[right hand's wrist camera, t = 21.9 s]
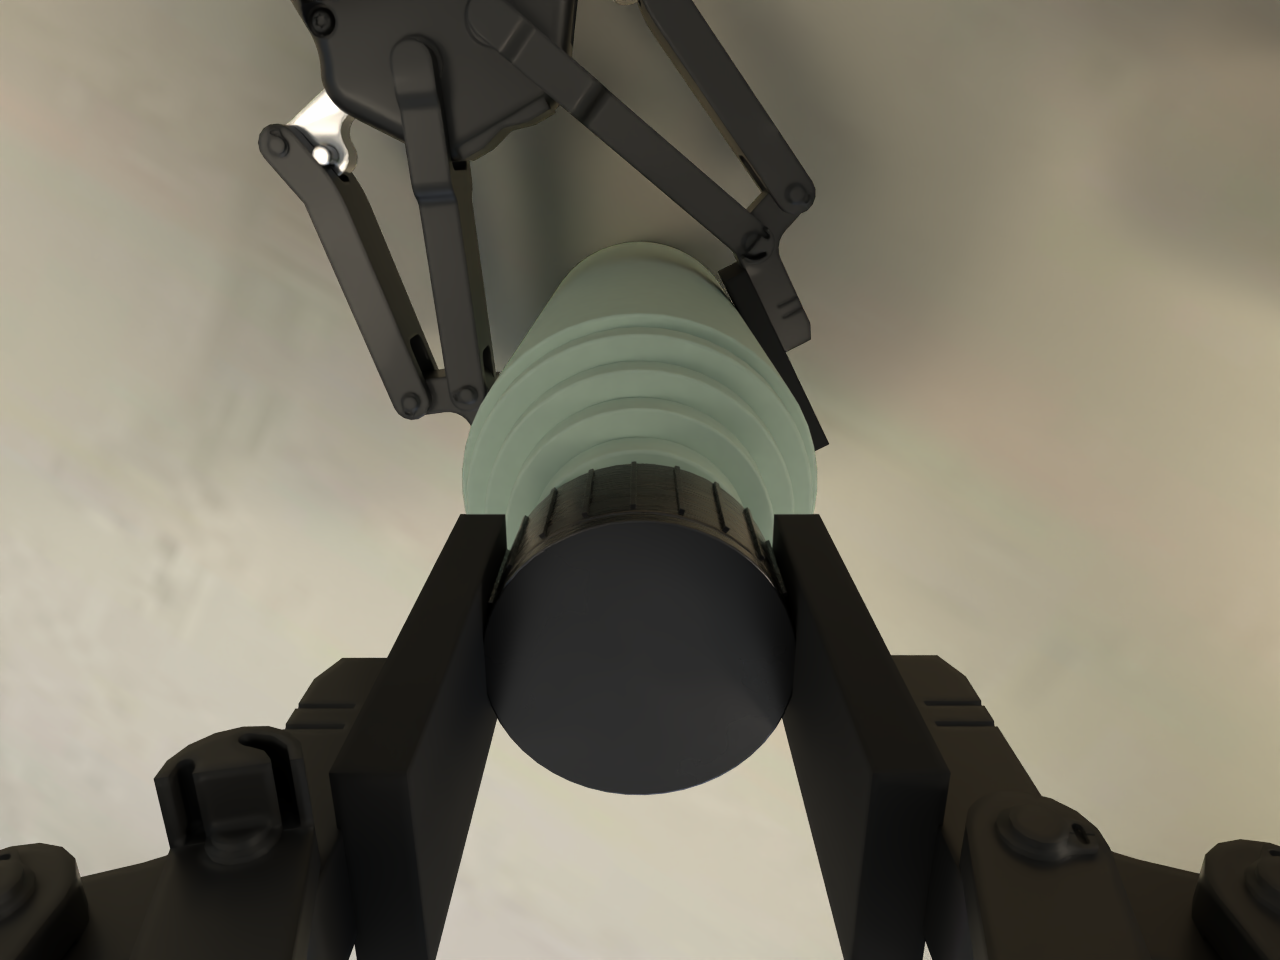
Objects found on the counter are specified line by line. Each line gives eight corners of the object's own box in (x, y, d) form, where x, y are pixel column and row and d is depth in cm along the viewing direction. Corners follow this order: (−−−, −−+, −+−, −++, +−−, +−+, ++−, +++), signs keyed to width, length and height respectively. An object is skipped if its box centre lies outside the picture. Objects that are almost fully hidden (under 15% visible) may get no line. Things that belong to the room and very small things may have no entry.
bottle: (536, 420, 37) (371, 826, 14) (553, 228, 34) (383, 356, 12) (719, 442, 37) (841, 874, 15) (751, 255, 34) (961, 429, 12)
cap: (829, 535, 14) (865, 606, 12) (693, 742, 16) (702, 841, 14) (578, 409, 14) (565, 459, 11) (458, 638, 15) (426, 724, 13)
